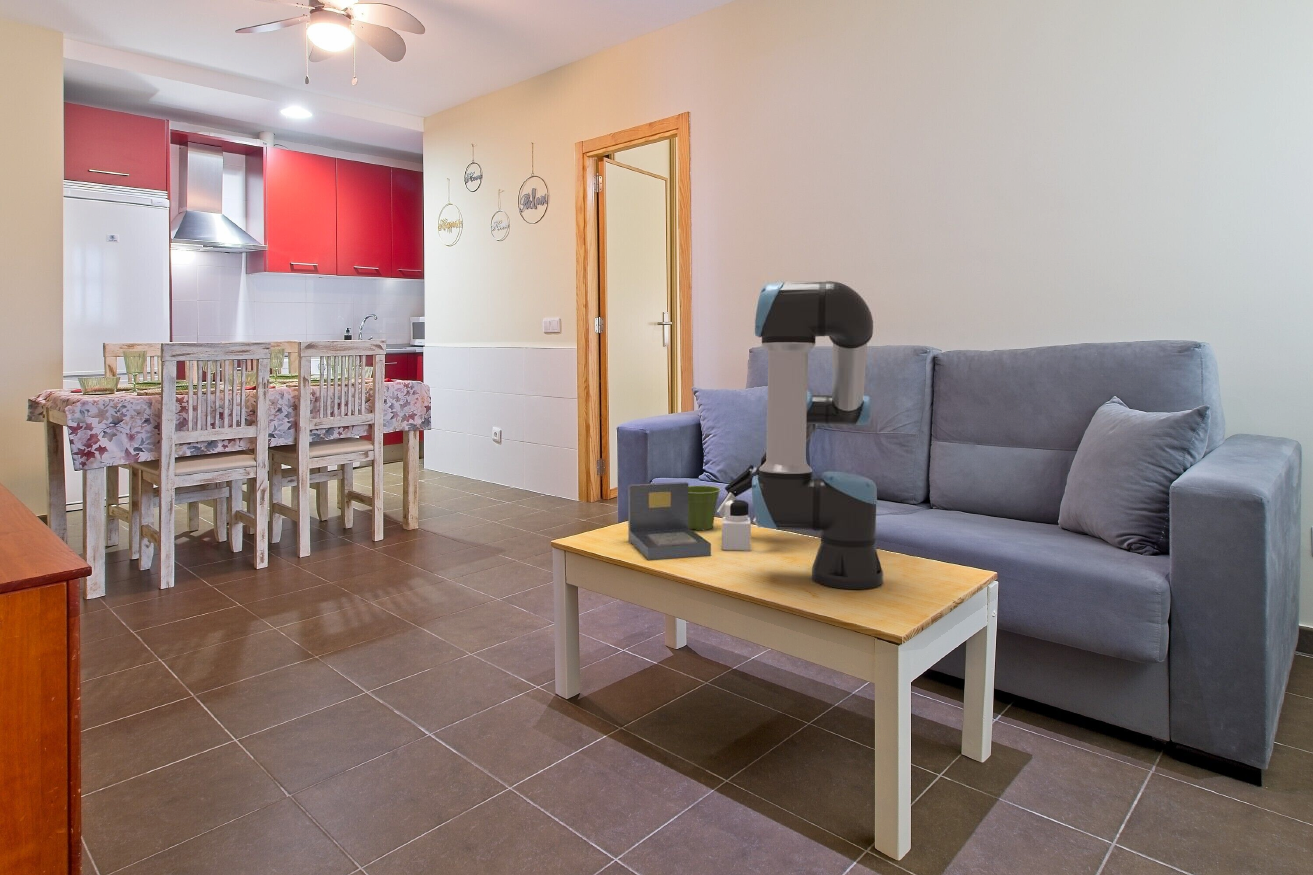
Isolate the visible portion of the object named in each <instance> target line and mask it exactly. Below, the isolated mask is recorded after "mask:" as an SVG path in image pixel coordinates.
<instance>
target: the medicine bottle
mask: <svg viewBox="0 0 1313 875" xmlns="http://www.w3.org/2000/svg"><path fill="white" fill-rule="evenodd" d="M751 525H752V523H751V517H750V516H749V503H748V502H747V501H745V500H742V499H741V500H740V499H737V500H730V501H727V502H726V503H725V517H723V518H722V521H721V550H722V551H747V552H748V551H751V540H752V539H751V530H752V529H751Z"/></svg>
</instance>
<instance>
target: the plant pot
mask: <svg viewBox="0 0 1313 875" xmlns="http://www.w3.org/2000/svg"><path fill="white" fill-rule="evenodd" d="M721 490H722V488H720V487H717V486H714V485H713V486H712V485H688V528H690V529H691V530H695V531H708V530H710V529H713V527H714V522H715V521H714V520H715V513H716V511H717V510H716V509H717V504H718V503H717V502H718V499H719V494H720V492H721Z"/></svg>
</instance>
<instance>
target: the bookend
mask: <svg viewBox="0 0 1313 875" xmlns="http://www.w3.org/2000/svg"><path fill="white" fill-rule="evenodd" d="M627 486H628V487H627V489H628V490H627V495H628V496H627V497H628V498H627V499H628V500H627V503H628V504H627V506H628V507H627V512H628V513H627V514H628V515H627V517H628V519H627V523H628V524H627V526H628V531H627V532H628V534H627V535H628V539H627V540H628V542H629V541H630V542H631V543H632V544H631V543H630V542H629V543H630V544H631V545H632V546H633V545H634V546H635V547H636V548H637V549H638V550H639V551H640V552H641V553H642V554H643V555H644V556H645V557H646V558H647V559H656V560H666V559H667V560H668V559H669V558H670V559H680V558H682V559H683V558H695V557H709V556H712V544H711V542H710V541H708V540H707V539H705V538H704V537H702V536H701V535H699V534H698V533H697V532H695V531H694V529H690V528H688V486H689V482H687V481H681V482H680V481H678V482H676V481H675V482H655V483H638V484H637V483H636V484H634V483H633V484H628V485H627ZM634 546H633V547H634ZM635 547H634V548H635ZM636 548H635V549H636ZM637 549H636V550H637ZM638 550H637V551H638ZM640 552H639V553H640ZM641 553H640V554H641ZM642 554H641V555H642ZM643 555H642V556H643ZM644 556H643V557H644ZM645 557H644V558H645ZM647 559H646V560H647Z"/></svg>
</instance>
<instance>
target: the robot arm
mask: <svg viewBox="0 0 1313 875" xmlns="http://www.w3.org/2000/svg"><path fill="white" fill-rule="evenodd" d="M754 324H755V325H754V335H755V336H756V337H758V338H759V339H760V338H761V346H762V347H763V348H764V349H765V350H766V352H767V354H768V356H767V357H768V359H767V361H768V362H767V365H768V366H767V408H766V410H767V412H766V450H765V452H764V454H763V455H762V457H761V458H760V459H761V460H760V465H759V466H758V467H755V466H754V465H753V464H749V466H748V467H747V469H746V470H745V471H743V472H742V473H741V474H739V476H737V477H736V478H735V479H734V480H732V481H731V482H730V483H729V484H727V485H726V486H725V487H724V490H725V491H726V492H727V493H726V496H725V497H724V498H723V500H722V502H721V504H720V505H719V507H718V508H717V510H716V513H717V514H718V515H719V516H720V518H722V519H723V517H725V503H726V502H727V501H730V500H738V499H737V497H738V496H740V495H741V494H743V493H745V492H747V491H748V490H750V489H751V498H752V506H753V514H754V518H753V520H752V522H753V523H754V524H755V525H756V527H757V528H760V529H761V528H763V529H772V530H777V531H780V530H787V531H803V532H805V531H807V532H820V544H819V547H818V550H817V553H816V556H815V559H814V562H813V564H812V567H811V579H812V580H813V581H814V582H815V583H818V584H821V585H822V586H825V587H826V586H827V587H830V588H835V589H843V590H866V589H867V590H868V589H872V588H876V587H877V588H878V587H879V586H881V585H882V584H883V579H884V573H883V571H884V570H883V568H882V564H881V562H880V558H879V554H878V551H877V548H876V537H877V536H876V535H877V531H876V530H877V505H878V504H879V503H878V502H879V501H878V498H877V497H878V491H877V485H876V483H875V481H873V479H870V478H868V477H866V476H862V475H860V474H854V473H849V472H844V471H824V472H823V473H822V474H821V477H820V478H817V477H816V478H815V477H813V469H812V468H811V467H810V465H808V463H807V462H806V456H807V453H806V452H807V443H808V441H809V440H810V438H811V436H812V435H813V434H814V432H816V429H817V427H818V425H841V426H842V425H843V426H857V425H858V426H862V425H863V426H864V425H868V424H869V423H870V421H871V405H872V404H871V403H872V402H871V398H870V396H869V395H864V394H865V381H866V380H865V379H866V366H867V355H868V354H867V352H868V343H869V342H870V341H871V339H872V338H873V335H874V334H873V333H874V319H873V315H872V312H871V310H870V308H869V305H868V304H867V302H866V301H865V300H864V298H863V296H861V294H859V293H858V292H857V291H856V290H854V289H853V288H852V287H850V286H848V285H846V284H844V283H842V282H839V281H829V280H827V281H781V282H770V283H766V284H765V285H764V286H762V288H761V289H760V293H759V296H758V300H757V306H756V312H755V320H754ZM816 337H829V340H830V341H831V343H832V394H811V392H810V391H809V390H808V377H809V375H808V374H809V371H808V370H809V352H810V351H811V350H812V349H813V348H814V347H815V346H816Z"/></svg>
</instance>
